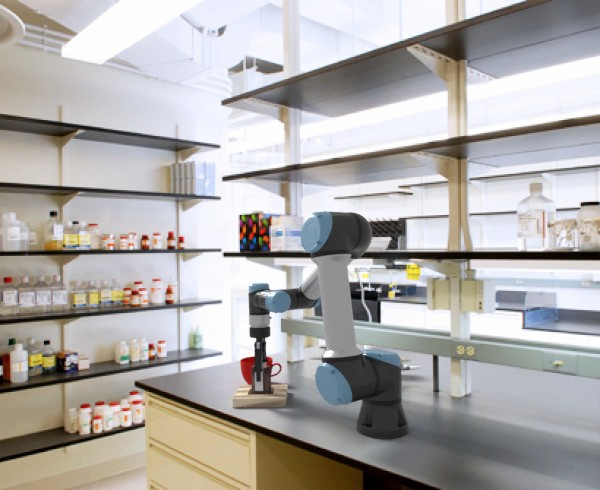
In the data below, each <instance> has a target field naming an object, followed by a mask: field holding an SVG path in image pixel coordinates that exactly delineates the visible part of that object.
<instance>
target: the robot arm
mask: <svg viewBox="0 0 600 490" xmlns="http://www.w3.org/2000/svg"><path fill="white" fill-rule="evenodd" d="M372 239H373V229H372V226H371V224H370V222H369V220H368V219H367V218H365V217H364V216H363V215H362V214H360V213H357V212H351V211H350V212H344V211H343V212H341V211H327V210H325V211H324V210H323V211H316V212H312V213H310V214H309V215H308V216H307V217H306V218H305V220H304V222H303V223H302V226H301V229H300V244H301V246H302V247H303V249H304V251H305V252H307V253H309V254H310V259H311V261H312V262H313V263H314V264H315V265H316V266H315V269H313V270H312V272H311V273H310V275H308V277H307V278H306V279H305V280H304V281H303V283H302V284H300V286H299V287H296V288H286V289H285V288H283V289H270V285H269V283H267V282H256V283H255V282H253V283H250V284H249V285H248V294H247V295H248V325H249V337H250V338H251V339H255V341H254V344H253V347H254V351H253V352H254V353H253V354H254V355H253V356H254V370H253V372H255V391H263V371H262V365H264V366H266V362H268V359H267V357H268V356H267V341H266V339H267V338H269V337H270V336H271V327H270V325H271V320H272V316H271V315H270V314H271V313H274V314H282V313H286V312H287V311H295V310H305V309H306V310H310V309H313V308H318V307H319V306H320V305H321V313H322V321H323V322H322V323H323V332H324V342H325V350H324V352H323V353H322V355H321V363H320V364H319V365H318V366H317V367H316V371H315V373H314V380H315V386H316V388H317V390H318V393H319V394H320V396H321V397H322V398H323V400H324V401H325V402H327V404H329V405H332V406H342V405H345V406H346V405H350V404H351V403H355V402H358V401H361V405H360V409H359V411H358V415H357V419H356V430H357V432H358V433H360V434H361V435H362V436H363V435H364V436H365V437H369V438H374V439H396V438H400V437H404V436H405V435H407V434H408V433H409V431H410V430H409V426H410V425H409V421H408V417H407V414H406V411H405V409H404V406H403V401H402V400H403V399H402V398H403V397H402V392H403V391H402V368H403V367H402V364H401V356H400V355H399V354H398V353H397V352H395V351H391V350H387V351H385V350H376V349H364V348H363V349H362V350H361V349H360V348H358V346H357V340H356V332H355V321H354V315H353V314H354V313H353V304H352V303H353V302H352V295H351V287H350V279H349V278H350V277H349V269H348V266H349V265H350V264H351V263H352V262H353V261H354V260H358V259H361V257H362V256H363V255H364V254H365V253H366V252H367V250H368V248H369V247H370V245H371V243H372Z"/></svg>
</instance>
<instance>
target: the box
mask: <svg viewBox="0 0 600 490" xmlns="http://www.w3.org/2000/svg"><path fill="white" fill-rule="evenodd" d="M253 370H254V366H252V367H251V377H252V395H267V394H271V385H272V377H271V375H272V373H271V366H264V365H262V371H263V391H255V372H253Z"/></svg>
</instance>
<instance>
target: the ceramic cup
mask: <svg viewBox="0 0 600 490" xmlns="http://www.w3.org/2000/svg"><path fill="white" fill-rule="evenodd" d="M254 356H255V355H253V356H247V357H243V358H241V359H240V362H239V363H240V372H241V376H242V378H243V380H244V381H245V382H246V383H247V385H252V377H251V367H252V366H254ZM267 359H268V362H266V366H271V378H273V377H276V376H278V375H279V374H280V373H281V372H282V369H283V367H282V365H281V363H279V362H274V363H273V361H274V360H273V358H272V357H271V356H267ZM275 366H278V368H279V370H278V371H277V372H276V373H274V374H272V372H273V371H272V370H273V368H274V367H275Z"/></svg>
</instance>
